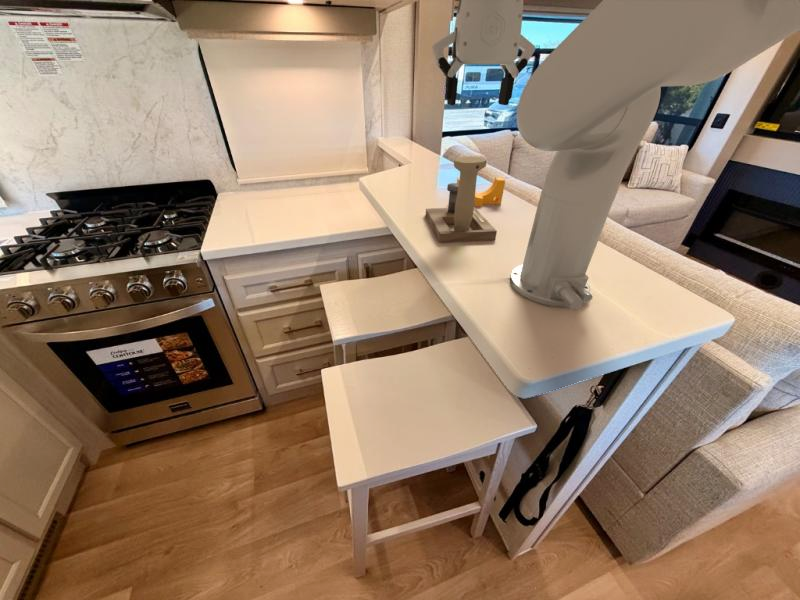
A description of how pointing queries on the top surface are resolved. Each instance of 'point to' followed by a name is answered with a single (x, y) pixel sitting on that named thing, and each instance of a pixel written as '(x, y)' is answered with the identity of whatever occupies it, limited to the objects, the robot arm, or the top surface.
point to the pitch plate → (446, 217)
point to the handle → (466, 190)
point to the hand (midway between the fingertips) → (477, 104)
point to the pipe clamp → (490, 193)
